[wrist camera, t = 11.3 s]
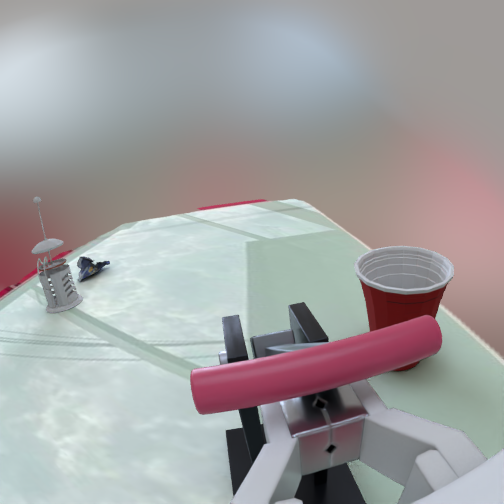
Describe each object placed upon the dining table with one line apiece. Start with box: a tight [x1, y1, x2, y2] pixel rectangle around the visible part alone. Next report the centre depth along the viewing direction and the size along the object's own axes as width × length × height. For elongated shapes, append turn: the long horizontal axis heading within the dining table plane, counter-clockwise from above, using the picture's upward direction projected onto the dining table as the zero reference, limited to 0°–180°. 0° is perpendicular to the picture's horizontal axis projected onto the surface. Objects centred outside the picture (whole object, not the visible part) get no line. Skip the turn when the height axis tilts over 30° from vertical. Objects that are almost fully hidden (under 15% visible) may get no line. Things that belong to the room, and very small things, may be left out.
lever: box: [190, 315, 442, 415], centre depth 13 cm, size 13×6×2 cm
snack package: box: [77, 257, 110, 282], centre depth 84 cm, size 12×6×12 cm
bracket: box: [219, 302, 366, 504], centre depth 19 cm, size 12×9×15 cm
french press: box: [32, 197, 83, 313], centre depth 60 cm, size 10×12×25 cm
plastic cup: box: [354, 246, 454, 371], centre depth 32 cm, size 11×11×12 cm
